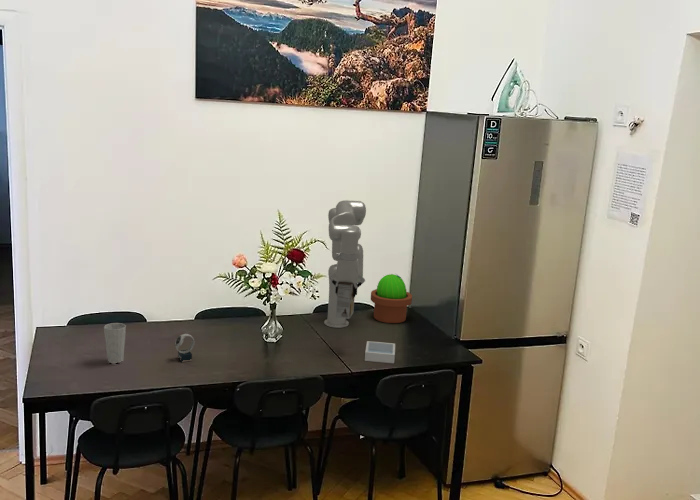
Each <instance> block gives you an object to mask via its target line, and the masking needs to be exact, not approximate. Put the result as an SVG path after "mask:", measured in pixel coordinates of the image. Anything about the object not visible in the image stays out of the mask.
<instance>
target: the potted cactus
mask: <svg viewBox="0 0 700 500" xmlns="http://www.w3.org/2000/svg"><path fill="white" fill-rule="evenodd" d="M370 301H371V302H372V303H374V305H373V306H374V307H373V319H375V320H376V321H379V322H381V323H387V324H401V323H403V322H405V321H406V320H407V319H406V318H407V310H408V306H410V305H411V304H412V302H413V295H412V293H410V292H409V291H407V287H406V284H405V281H404V279H403V278H402V277H401V276H400V275H398V274H395V273H394V274H393V273H389V274H385V275H383V277H381V278H380V279H379V281H378V282H377V285H376V289H373V290H371V291H370Z"/></svg>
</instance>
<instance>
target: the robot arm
mask: <svg viewBox="0 0 700 500" xmlns="http://www.w3.org/2000/svg"><path fill="white" fill-rule="evenodd" d="M327 214H328V215H327V216H328V237H329V239H330V240H331V241H332V242H331V257H332V260H334V261H336V264H331V265H330V266H329V267H328V271H327V272H328V273H327V275H328V307H327V319H325V320H324V321H323V322H324V325H325V326H327V327H330V328H335V329H342V328H347V327H348V326H349V325H350V324H349V323H350V322H349V321H348V320H347V319H346V318H338V317H336V308H337V291H338V282H347V283H353V284H354V286H355V287H354V294H353V297H354V298H356V296H357V295H358V288H360V287H361V286H362V285H363V284H364V283H365V282H366V279H365V278H364V248H363V246H362V244H360V243H359V240H360V239H361V236H362V229H361V228H360V227H359V226H361V225H362V224H363V223H364V220H365V218H366V214H367V207H366V204H365V203H364V202H363V201H361V200H349V199H345V200H341V201H339V202H338V203H337V204H336V205H335V207H333V208H330V209H329V210H328V213H327Z"/></svg>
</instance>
